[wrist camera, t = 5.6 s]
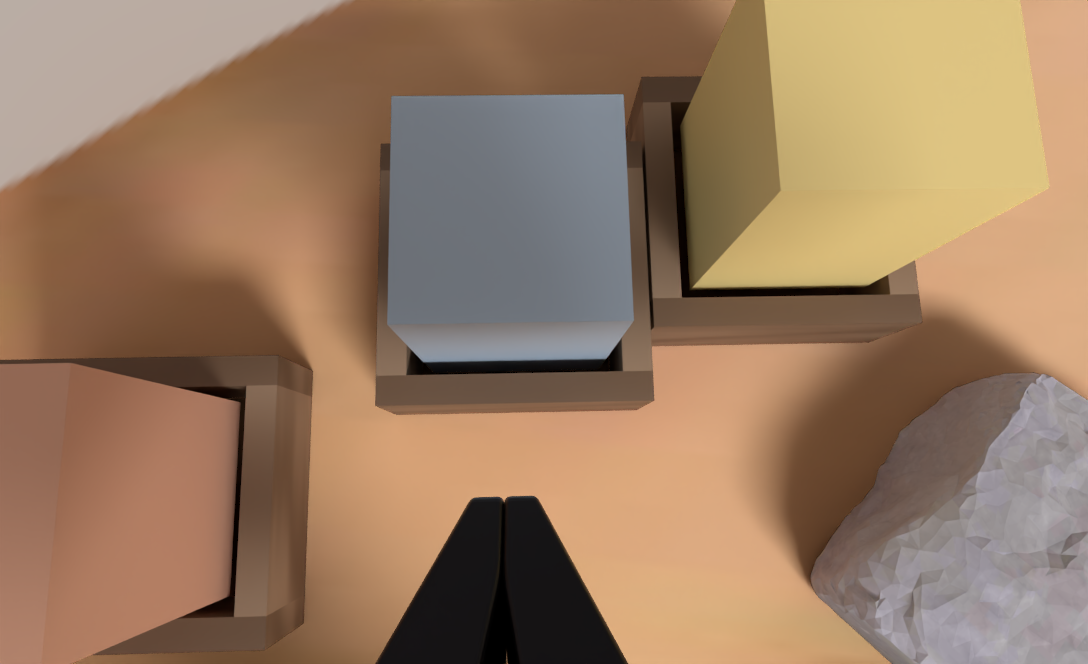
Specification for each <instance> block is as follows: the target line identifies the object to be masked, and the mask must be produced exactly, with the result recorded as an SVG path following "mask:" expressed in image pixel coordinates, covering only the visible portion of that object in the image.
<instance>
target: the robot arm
mask: <svg viewBox="0 0 1088 664" xmlns="http://www.w3.org/2000/svg"><path fill="white" fill-rule="evenodd" d="M507 663H508V664H628V663H627V661H626V659H625V657H624V655H623V653H622V652H621V650H620V648H619V646H618V644H617V642H616V641H615V639H614V637H613V635H612V633H611V631H610V630H609V628H608V626H607V624H606V622H605V620H604V619H603V617H602V615H601V613H600V611H599V609H598V608H597V606H596V604H595V602H594V600H593V598H592V597H591V595H590V593H589V591H588V589H587V587H586V586H585V584H584V582H583V580H582V578H581V576H580V575H579V573H578V571H577V569H576V567H575V565H574V564H573V562H572V560H571V558H570V556H569V554H568V553H567V551H566V549H565V547H564V545H563V543H562V542H561V540H560V538H559V536H558V534H557V532H556V531H555V529H554V527H553V525H552V523H551V521H550V520H549V518H548V516H547V514H546V512H545V510H544V509H543V507H542V505H541V503H540V501H539V500H538V499H537V498H536V497H534V496H511V497H507V498H506V499H505V502H504V501H503V499H502V498H500V497H478V498H473V499H472V500H470V502H469V503H468V505H467V506H466V508H465V510H464V511H463V513H462V515H461V517H460V518H459V520H458V522H457V524H456V525H455V527H454V529H453V530H452V532H451V534H450V536H449V537H448V539H447V541H446V543H445V544H444V546H443V548H442V550H441V551H440V553H439V555H438V556H437V558H436V560H435V562H434V563H433V565H432V567H431V569H430V570H429V572H428V574H427V575H426V577H425V579H424V581H423V582H422V584H421V586H420V588H419V589H418V591H417V593H416V594H415V596H414V598H413V600H412V601H411V603H410V605H409V607H408V608H407V610H406V612H405V613H404V615H403V617H402V619H401V620H400V622H399V624H398V626H397V627H396V629H395V631H394V633H393V634H392V636H391V638H390V639H389V641H388V643H387V645H386V646H385V648H384V650H383V652H382V653H381V655H380V657H379V658H378V660H377V662H376V664H507Z"/></svg>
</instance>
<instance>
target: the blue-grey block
mask: <svg viewBox="0 0 1088 664" xmlns="http://www.w3.org/2000/svg"><path fill="white" fill-rule="evenodd" d="M633 321H634V312H633V289H632V267H631V245H630V223H629V201H628V179H627V156H626V134H625V112H624V94H596V95H468V96H391V148H390V203H389V257H388V312H387V325H388V326H389V327H390V328H391V329H392V330H393V331H394V332H395V333H396V334H397V335H398V336H399V337H400V338H401V339H402V341H403V342H404V343H405V344H406V345H407V346H408V347H409V348H410V349H411V350H412V351H413V352H414V353H415V354H416V355H417V356H418V357H419V358H420V359H421V360H422V361H423V362H424V363H425V364H426V365H427V366H428V367H429V369H430V370H431V371H432V372H433V373H451V372H506V371H560V370H598V369H599V368H600V367H601V365H602V364H603V363H604V361H605V360H606V358H607V357H608V356H609V354H610V353H611V352H612V350H613V349H614V347H615V346H616V345H617V343H618V342H619V341H620V339H621V338H622V336H623V335H624V334H625V332H626V331H627V329H628V328H629V327H630V325H631V324H632V323H633Z"/></svg>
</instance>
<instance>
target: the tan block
mask: <svg viewBox="0 0 1088 664" xmlns="http://www.w3.org/2000/svg"><path fill="white" fill-rule="evenodd" d="M239 421H240V402H236V401H232V400H228V399H224V398H219V397H215V396H211V395H206V394H202V393H198V392H194V391H189V390H185V389H181V388H176V387H172V386H168V385H163V384H159V383H155V382H151V381H146V380H142V379H138V378H133V377H129V376H125V375H120V374H116V373H112V372H108V371H103V370H99V369H95V368H90V367H86V366H82V365H78V364H73V363H40V364H0V664H72V663H74V662H76V661H79V660H81V659H83V658H86V657H88V656H90V655H93V654H95V653H97V652H100V651H102V650H104V649H107V648H109V647H111V646H114V645H116V644H118V643H121V642H123V641H125V640H128V639H130V638H132V637H135V636H137V635H139V634H142V633H144V632H146V631H149V630H151V629H153V628H156V627H158V626H160V625H163V624H165V623H167V622H170V621H172V620H174V619H177V618H179V617H181V616H184V615H186V614H188V613H191V612H193V611H195V610H198V609H200V608H202V607H205V606H207V605H210V604H212V603H214V602H217V601H219V600H221V599H224V598H226V597H228V596H230V584H231V566H232V548H233V530H234V511H235V493H236V475H237V457H238V439H239Z"/></svg>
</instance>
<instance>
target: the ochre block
mask: <svg viewBox="0 0 1088 664" xmlns="http://www.w3.org/2000/svg"><path fill="white" fill-rule="evenodd" d="M680 131H681V148H682V164H683V181H684V198H685V214H686V231H687V248H688V264H689V281H690V290H727V289H792V288H857V287H866V286H868V285H870V284H872V283H873V282H875V281H877V280H879V279H881V278H883V277H885V276H886V275H888V274H890V273H892V272H894V271H896V270H898V269H899V268H901V267H903V266H905V265H907V264H909V263H911V262H912V261H914V260H916V259H918V258H920V257H922V256H924V255H925V254H927V253H929V252H931V251H933V250H935V249H937V248H939V247H940V246H942V245H944V244H946V243H948V242H950V241H952V240H953V239H955V238H957V237H959V236H961V235H963V234H965V233H966V232H968V231H970V230H972V229H974V228H976V227H978V226H979V225H981V224H983V223H985V222H987V221H989V220H991V219H992V218H994V217H996V216H998V215H1000V214H1002V213H1004V212H1006V211H1007V210H1009V209H1011V208H1013V207H1015V206H1017V205H1019V204H1020V203H1022V202H1024V201H1026V200H1028V199H1030V198H1032V197H1033V196H1035V195H1037V194H1039V193H1041V192H1043V191H1045V190H1046V189H1048V188H1050V187H1049V181H1048V175H1047V168H1046V162H1045V156H1044V149H1043V143H1042V137H1041V130H1040V124H1039V118H1038V111H1037V105H1036V99H1035V92H1034V86H1033V80H1032V73H1031V67H1030V60H1029V54H1028V48H1027V41H1026V35H1025V29H1024V22H1023V16H1022V10H1021V3H1020V0H736V3H735V5H734V7H733V9H732V11H731V14H730V16H729V18H728V20H727V23H726V25H725V27H724V29H723V32H722V34H721V36H720V38H719V40H718V43H717V45H716V47H715V49H714V52H713V54H712V56H711V58H710V61H709V63H708V65H707V67H706V69H705V72H704V74H703V76H702V78H701V81H700V83H699V85H698V87H697V90H696V92H695V94H694V96H693V98H692V101H691V103H690V105H689V107H688V110H687V112H686V114H685V116H684V119H683V121H682V123H681V125H680Z"/></svg>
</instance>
